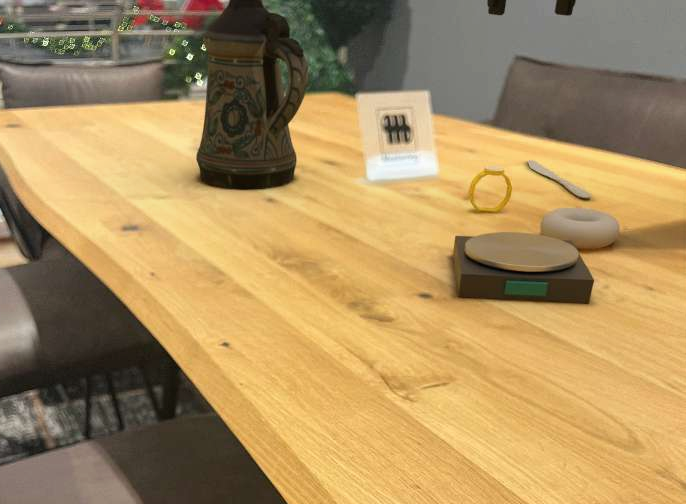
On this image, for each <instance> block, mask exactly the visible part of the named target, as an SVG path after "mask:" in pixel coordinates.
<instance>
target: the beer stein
mask: <svg viewBox="0 0 686 504" xmlns="http://www.w3.org/2000/svg"><path fill="white" fill-rule="evenodd" d="M290 36H291V27H290V24H289V22H288V20H287V19H286V17H285V16H283V15H281V14H279V13H275V12H270V11H268V9H266V7H265V6H264V3H263V0H229V1H228V4H227V6H226V7H225V8H224V10H223V11H222V12H221V13H220V15H219V16H218V17H217V18H216V19H215V20H214V21H212V23H211V24H209V25H208V27H207V28H206V29H205V31H204V32H203V34H202V41H203V45H204V48H205V50H206V51H207V57H208V61H207V63H208V65H207V79H206V93H205V97H206V98H205V108H204V119H203V128H202V132H201V133H202V134H201V140H200V143H199V147H198V150H197V152H196V156H195V159H196V162H197V165H198V168H199V174H200V179H201V181H202V182H203V183H205V184H207V185H209V186H213V187H218V188H223V189H230V190H231V189H232V190H233V189H234V190H261V189H269V188H270V189H271V188H275V187H282V186H285V185H287V184H290V183H291V182H292V181H293V180H294V179H295V171H296V167H297V161H298V160H297V159H298V158H297V153H296V151H295V148H294V146H293V142H292V137H291V132H290V127H289V124H290V123H291V121H293V119H294V117H295V116H296V115H297V113H298V111H299V109H300V107H301V105H302V103H303V101H304V98H305V96H306V92H307V89H308V81H309V65H308V62H307V59H306V56H305V54H304V52H305V51H304V49H303V47H302V46H301V44H300V43H299V42H298V40H297V39H295V38H294V37H290ZM281 61H283V62H284V64H285V66H286V68H287V75H288V83H287V90H286V93H285V90H284V83H283V82H284V81H283V75H282V74H283V73H282V68H281Z"/></svg>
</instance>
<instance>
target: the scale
mask: <svg viewBox="0 0 686 504" xmlns="http://www.w3.org/2000/svg"><path fill="white" fill-rule="evenodd" d="M475 236H476V235H475ZM475 236H474V235H473V236H472V235H455V236H454V242H453V251H452V260H453V268H454V276H455V282H456V289H457V296H458V298H470V299H471V298H472V299H492V300H493V299H494V300H515V301H532V302H533V301H535V302H553V303H573V304H574V303H575V304H590V300H591V297H592V292H593V288H594V283H595V279H594V277H593V275H592V273H591V271H590V270H589V268H588V267H587V265H586V263H585V261H584V259H583V258H582V256H581V254H580V252H579V251H578V253H579V255H578V260H577V262H576V263H575V264H574V265H572V266H570V267H568V268H564V269H560V270H555V271H545V272H525V271H514V270H506V269H501V268H496V267H492V266H488V265H485V264H482V263H480V262H477V261H475V260H473V259H472V258H470V257H469V256H468V255H467V254H466V253H465V243H466V242H467V241H468V240H469V239H470V238H472V237H475ZM562 241H564V242H566V243H568V244H570V245H572V246H574V247H575V245H574V244H573V242H572V241H570V240H562ZM575 248H576V247H575Z"/></svg>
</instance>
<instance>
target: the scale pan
mask: <svg viewBox="0 0 686 504" xmlns="http://www.w3.org/2000/svg"><path fill="white" fill-rule="evenodd" d="M578 250H579V249H576V248H575V247H574V246H572V245H570V244H568V243H566V242H564V241H562V240H559V239H555V238H552V237H548V236H543V235H542V234H537V233H529V232H516V231H497V232H488V233H482V234H478V235H475V237H472V238H470V239H469V240H468V241H467V242H466V243H465V253H466V254H467V255H468V256H469V257H470V258H472V259H473V260H475V261H477V262H480V263H482V264H485V265H488V266H492V267H496V268H501V269H506V270H514V271H525V272H545V271H555V270H560V269H564V268H568V267H570V266H572V265H574V264H575V263H576V262H577V260H578V255H579V254H580V252H579V251H578ZM578 252H579V253H578Z"/></svg>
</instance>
